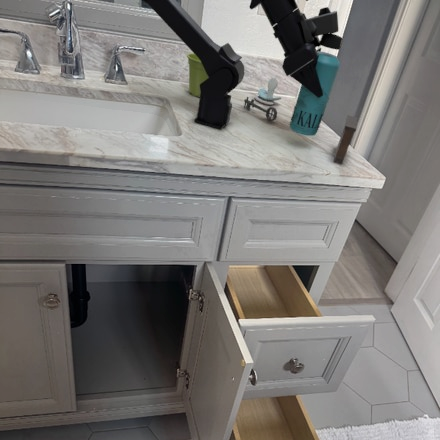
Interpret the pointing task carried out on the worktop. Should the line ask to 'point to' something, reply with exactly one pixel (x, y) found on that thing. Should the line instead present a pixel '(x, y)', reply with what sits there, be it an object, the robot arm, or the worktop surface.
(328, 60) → the beverage bottle
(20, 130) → the worktop surface
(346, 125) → the dark brown flat block
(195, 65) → the plant pot
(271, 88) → the pacifier
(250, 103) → the key
